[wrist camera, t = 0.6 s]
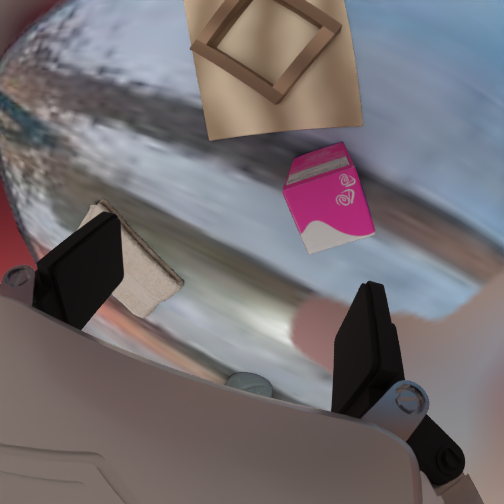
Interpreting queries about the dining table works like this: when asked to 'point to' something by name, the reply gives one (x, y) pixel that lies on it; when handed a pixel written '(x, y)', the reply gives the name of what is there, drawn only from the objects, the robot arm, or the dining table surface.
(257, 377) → the grey green embossed cup
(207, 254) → the dining table surface
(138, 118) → the dining table surface
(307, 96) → the collar holder
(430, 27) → the dining table surface
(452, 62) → the dining table surface
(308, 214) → the supplement box
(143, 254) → the washcloth
